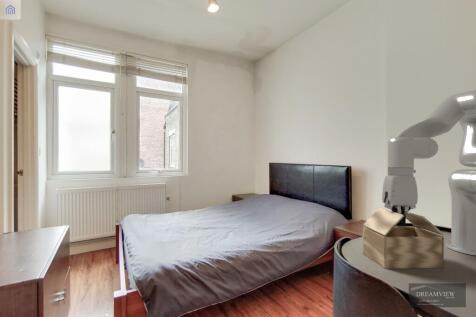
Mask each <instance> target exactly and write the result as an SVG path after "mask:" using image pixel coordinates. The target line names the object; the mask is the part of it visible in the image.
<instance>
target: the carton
mask: <svg viewBox="0 0 476 317" xmlns="http://www.w3.org/2000/svg"><path fill="white" fill-rule="evenodd" d="M362 233H363V234H362V255H364V256H365V257H367V258H369V259H370V260H371V261H373V262H374V263H376V264H377V265H379V266H380V267H382V268H384V269H386V270H387V269H391V270H392V269H432V268H434V269H435V268H438V269H441V268H444V260H445V259H444V256H445V255H444V254H445V252H444V250H445V249H444V247H445V242H444V240H445V239H444V238H445V236H444V235H440V234H437V233H434V232H431V231H429V230H426V229H423V228H420V227H417V226H394V227H393V228H392V229H391V231H390V232H389V233H388V234H387V235H386V236H385V235H382V234H380V233H378V232H376V231H374V230H372V229H370V228H367V227H365V226H363V227H362Z"/></svg>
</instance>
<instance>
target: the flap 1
mask: <svg viewBox="0 0 476 317" xmlns="http://www.w3.org/2000/svg"><path fill="white" fill-rule="evenodd" d="M403 217H404V215H402V214H399V213H395V212H392V210H390V209H386V208H385V209H384V208H382V207H378V209H376V211H375V212H373V214H372V215H370V216H369V218H368V219H367V220H366V221H365V222H364V223H363V224H362V225H363V227H367V228H370V229H372V230H374V231H376V232H378V233H380V234H382V235H385V236H386V235H387V234H388V233H389V232H390V231H391V229H392V228H393V227H396V226H397V225H396V224H397V223H398V222H399V221H400V220H401V219H402V218H403Z"/></svg>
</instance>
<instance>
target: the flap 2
mask: <svg viewBox="0 0 476 317" xmlns="http://www.w3.org/2000/svg"><path fill="white" fill-rule="evenodd" d="M406 221H409V223H411V224H412V225H413V227H417V228H420V229H423V230H425V231H428V232H431V233H434V234H437V235H440V236H444V233H443V232H442V231H441V230H440V229H439V228H438V227H436V226H435V225H434V224H433V223H432V222H431V221H430V220H428V218H426V217H425V216H423V215H419V214H415V213H413V212H410V211H409V212H408V214H407V215H406Z"/></svg>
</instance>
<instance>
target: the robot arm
mask: <svg viewBox="0 0 476 317" xmlns="http://www.w3.org/2000/svg"><path fill="white" fill-rule="evenodd" d="M457 123H459V124H460V126H461V128H462V132H463V135H462V141H461V145H460V150H459V156H458V161H459V164H460V165H462V166H464V167H467V169H464V168H463V169H458V170H453V171H452V172H451V173H450V174H449V176H448V186H449V191H450V195H451V196H450V198H451V199H450V200H451V221H450V222H451V225H450V226H451V228H450V229H451V230H450V231H451V232H450V234H451V239H450V241H447V242H446V243H445V246H446V247H447V248H448V249H449V250H452V251H454V252H458V253H462V254H465V255H470V256H476V169H468V168H476V89H473V90H472V89H471V90H468V91H464V92H460V93H459V92H458V93H456V94H451V95H449V96H447V97H446V98H444V99H443V100H442V101H441V102H440V103H439V104H438V105H437V106H436V107H435V109H434V110H433V111H432V112H431V113H430V114H429V115H428V116H426V117H425V118H424V119H422V120H419V121H418V122H416V123H414V124H412V125H410V126H409V127H407V128H405V129H404V130H403V131H401V132H400V133H399V135H398V136H396V137H391V138H390V139H389V140H388V142H387V176H384V180H383V185H382V194H381V202H382V203H383V204H384V205H383V207H384V208H385V209H387V210H390V211H392V212H395V213H399V214H402V215H404V217H403V218H402V219H401V220H400V221H399V222H398V223H397V224H396V225H395V226H397V227H407V223H406V222H407V219H406V215H407V214H408V212H409V213H410V211H411V210H413V209H416V208H417V204H418V201H419V200H418V198H419V197H418V196H419V195H418V186H417V180H416V177H415V176H414V175H415V174H416V173H417V171H416V169H414V168H415V165H414V164H415V159H416V160H418V159H419V160H423V159H424V160H425V159H430V158H433V157H434V156H436V154H437V153H438V152H439V144H438V142H437V141H436V140H435V139H433V138H435V137H438V136H441V135H443V134H447V133H448V132H450V131H451V130H452V129H453V128H454V126H456V124H457Z"/></svg>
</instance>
